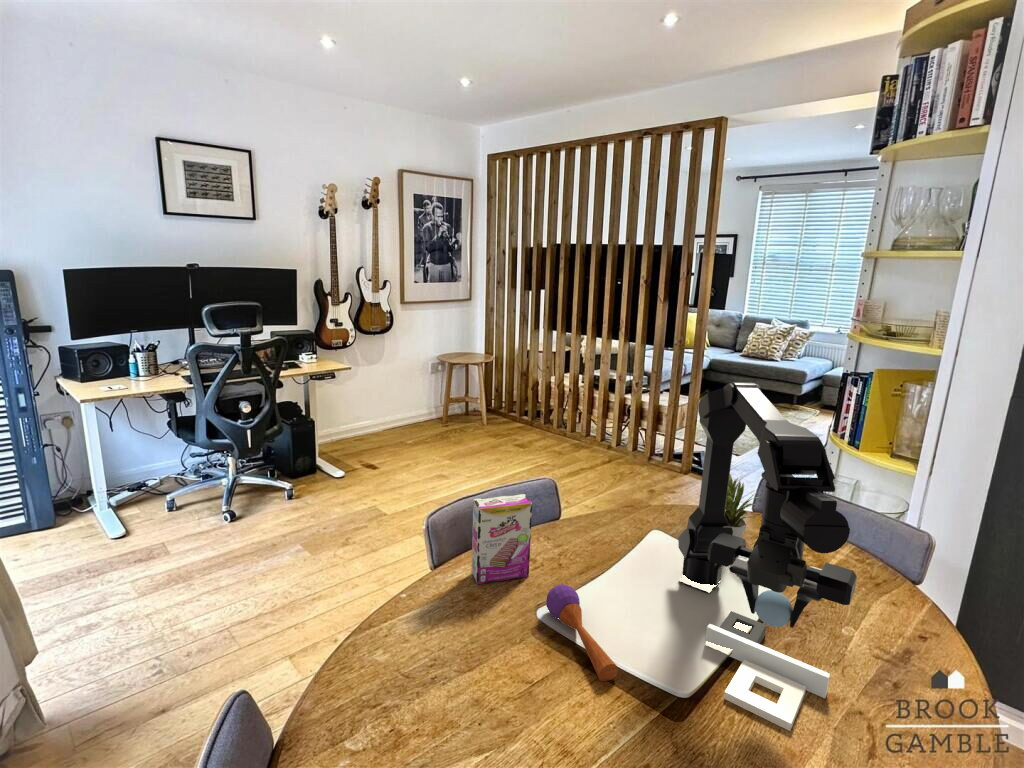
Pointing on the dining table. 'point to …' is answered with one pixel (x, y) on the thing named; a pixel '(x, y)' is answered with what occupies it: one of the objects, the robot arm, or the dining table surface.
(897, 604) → the dining table surface
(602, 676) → the kendama
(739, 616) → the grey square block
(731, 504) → the house plant
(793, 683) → the white rectangular frame
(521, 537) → the candy bar box
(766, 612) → the ball
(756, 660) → the divider wall
